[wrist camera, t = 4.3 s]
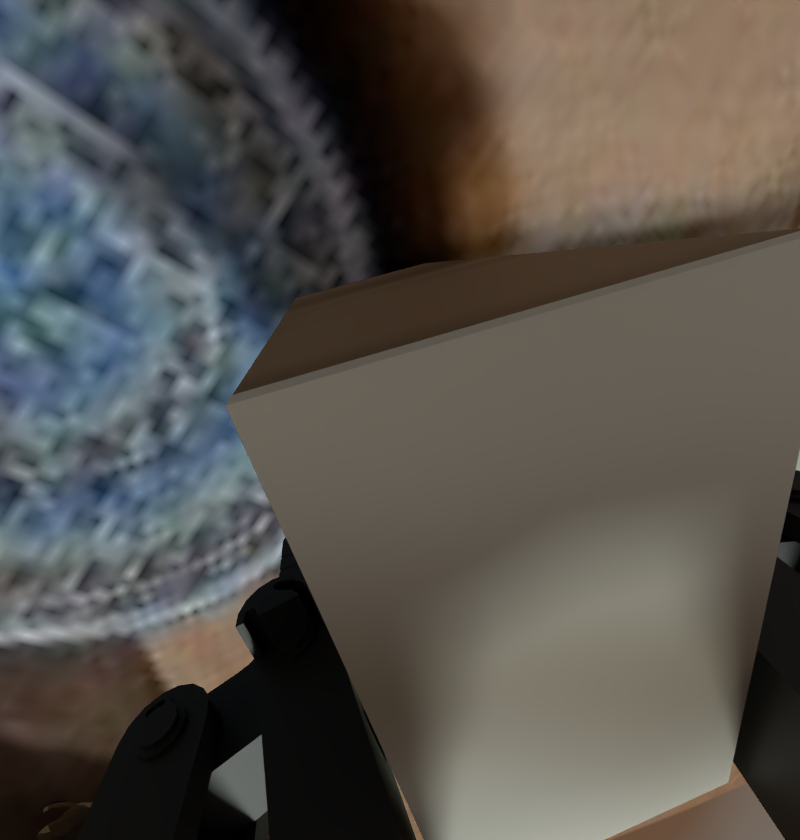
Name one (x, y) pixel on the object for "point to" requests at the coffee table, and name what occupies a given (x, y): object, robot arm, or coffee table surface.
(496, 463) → the beige rectangular block
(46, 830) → the pine cone
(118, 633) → the coffee table surface
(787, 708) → the robot arm
